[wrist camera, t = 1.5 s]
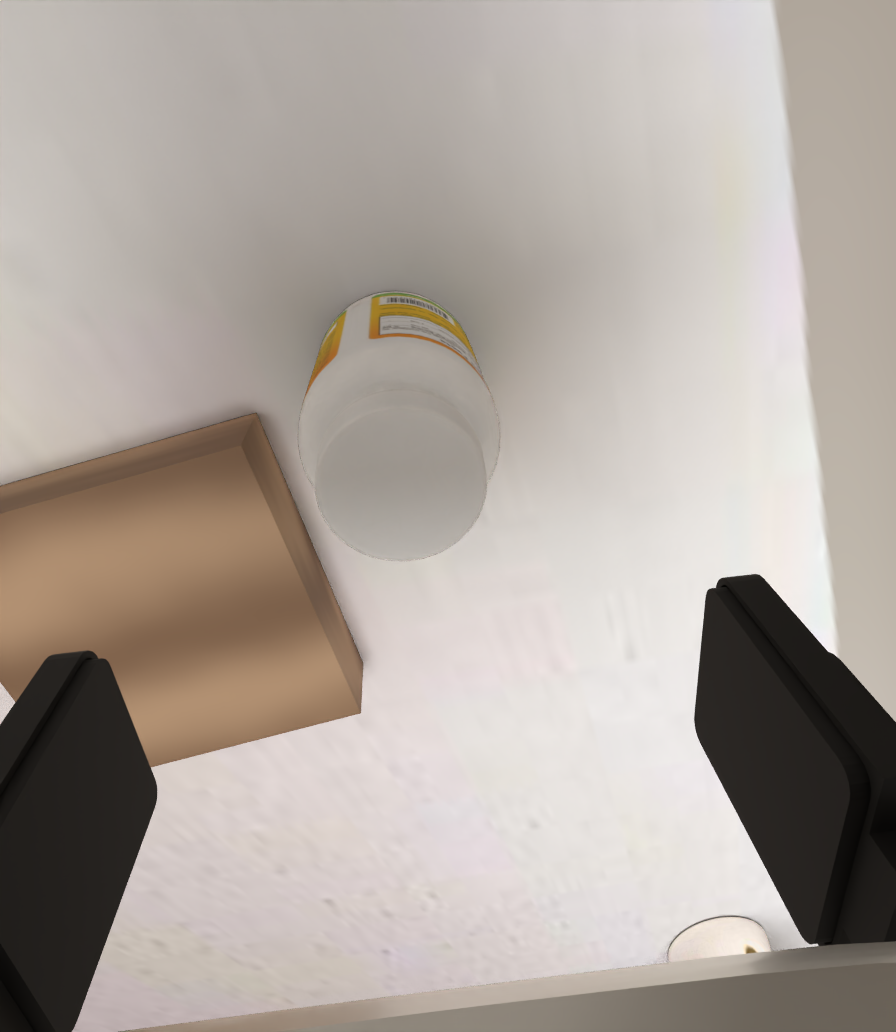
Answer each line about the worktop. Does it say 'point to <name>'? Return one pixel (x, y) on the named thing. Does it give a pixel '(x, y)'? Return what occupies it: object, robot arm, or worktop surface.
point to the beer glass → (719, 939)
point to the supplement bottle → (398, 428)
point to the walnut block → (178, 590)
